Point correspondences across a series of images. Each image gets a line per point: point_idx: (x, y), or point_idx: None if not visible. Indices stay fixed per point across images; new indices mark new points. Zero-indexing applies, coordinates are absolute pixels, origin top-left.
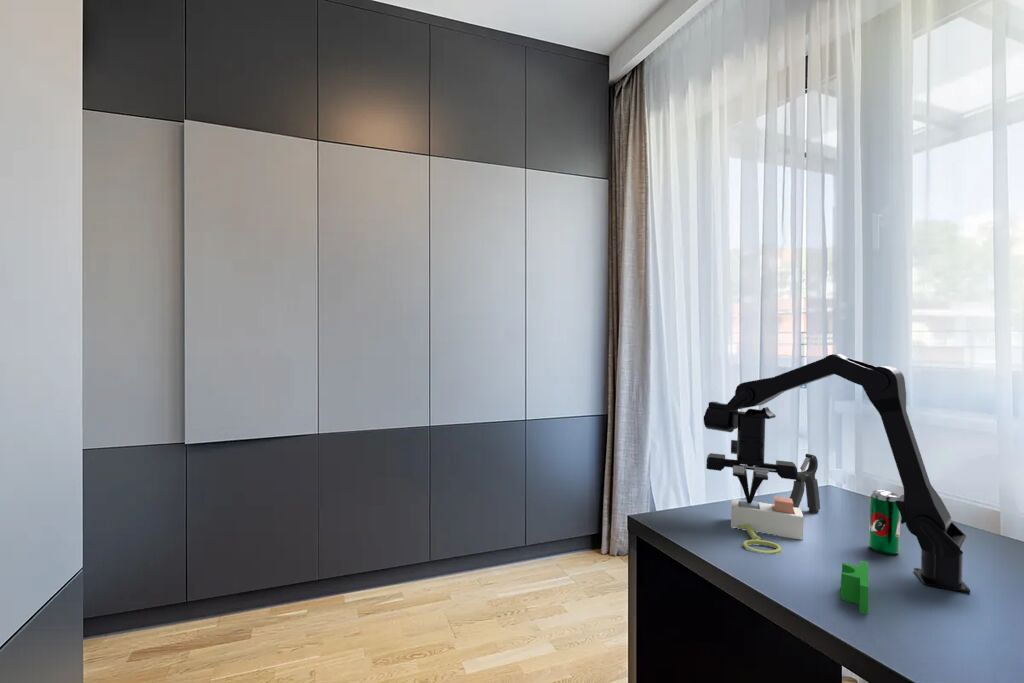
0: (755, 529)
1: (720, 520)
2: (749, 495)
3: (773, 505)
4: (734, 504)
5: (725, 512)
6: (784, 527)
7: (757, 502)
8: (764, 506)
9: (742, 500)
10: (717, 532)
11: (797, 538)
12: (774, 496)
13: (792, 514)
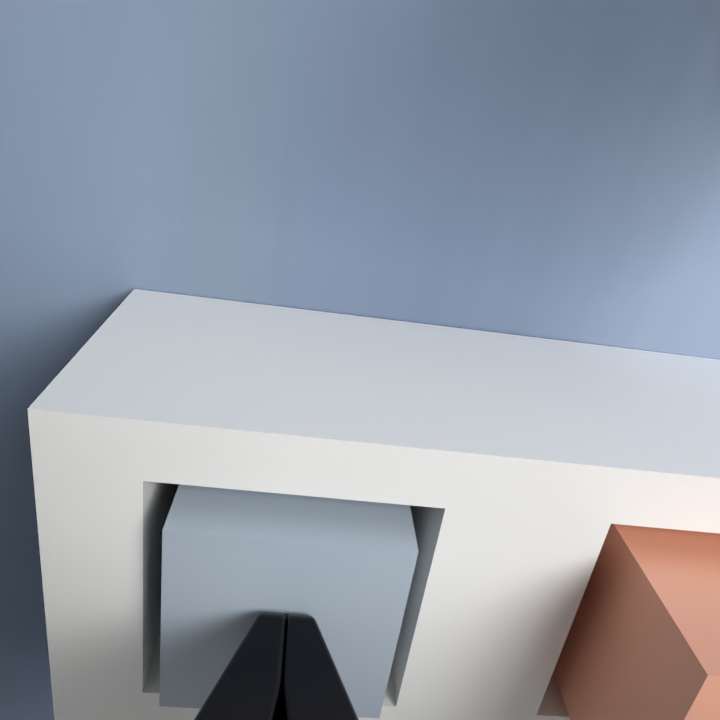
0: None
1: (23, 365)
2: (281, 697)
3: (634, 524)
4: (88, 651)
5: (50, 29)
6: None
7: (408, 592)
8: (486, 599)
9: (190, 575)
10: (35, 643)
11: None
12: (709, 682)
13: None
